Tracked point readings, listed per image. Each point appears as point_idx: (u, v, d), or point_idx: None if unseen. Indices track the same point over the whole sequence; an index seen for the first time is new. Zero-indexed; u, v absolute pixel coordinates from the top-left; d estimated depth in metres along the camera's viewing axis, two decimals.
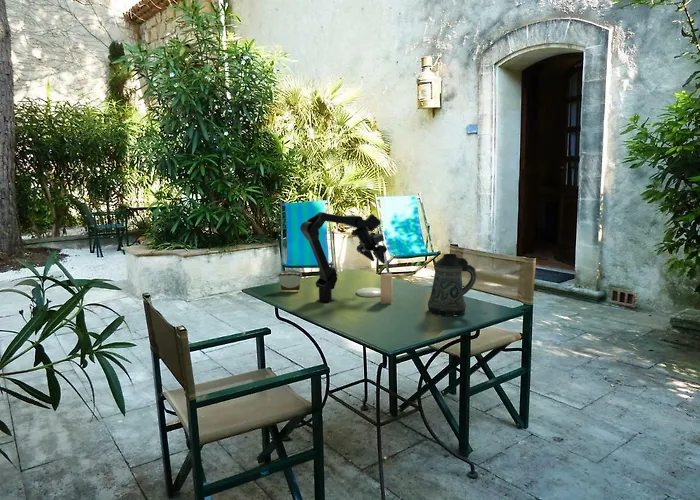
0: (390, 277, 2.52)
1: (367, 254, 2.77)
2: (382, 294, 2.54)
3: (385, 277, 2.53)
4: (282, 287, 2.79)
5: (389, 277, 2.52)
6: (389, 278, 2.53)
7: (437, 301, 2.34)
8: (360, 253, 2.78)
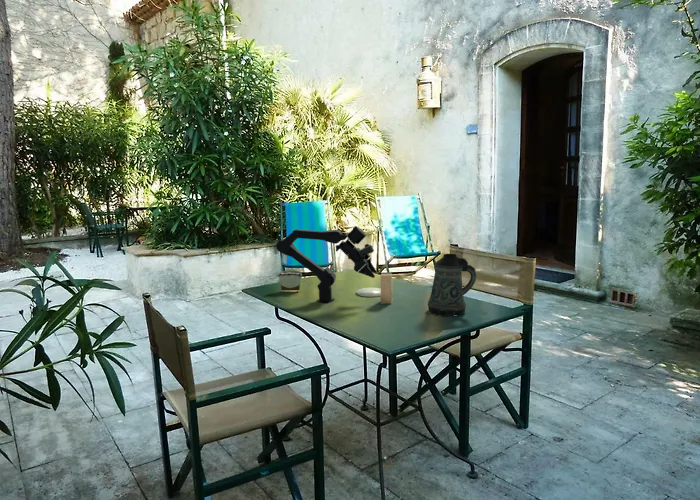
0: (390, 277, 2.52)
1: None
2: (382, 294, 2.54)
3: (385, 277, 2.53)
4: (282, 287, 2.79)
5: (389, 277, 2.52)
6: (389, 278, 2.53)
7: (437, 301, 2.34)
8: None
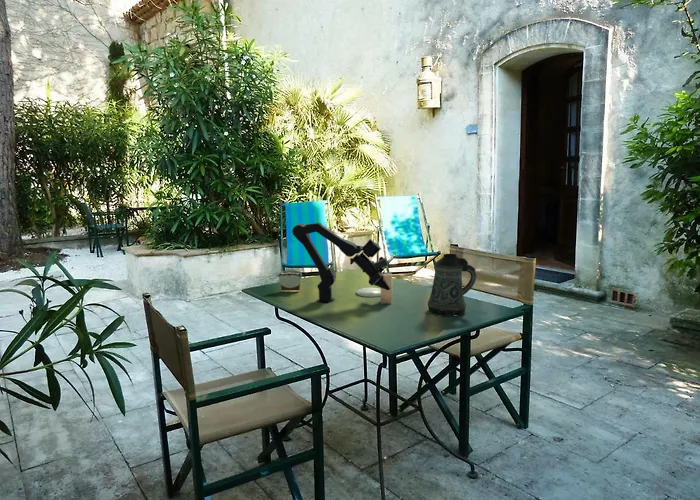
0: (390, 277, 2.53)
1: None
2: (382, 294, 2.54)
3: (385, 277, 2.53)
4: (282, 287, 2.79)
5: (389, 277, 2.53)
6: (389, 278, 2.53)
7: (437, 301, 2.34)
8: None
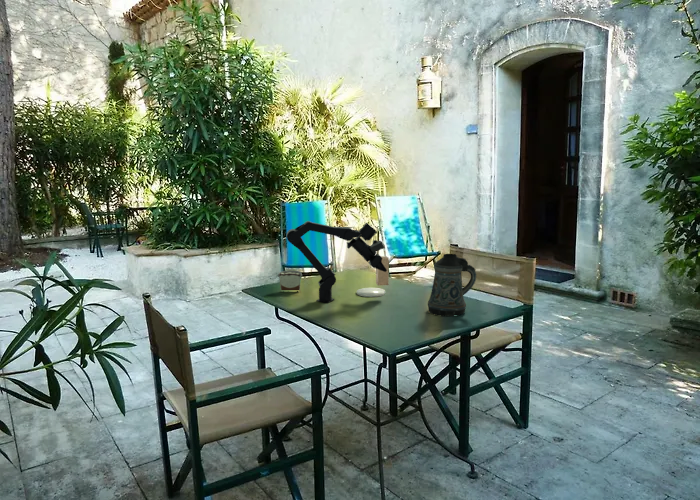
0: (387, 259, 2.60)
1: None
2: (379, 276, 2.61)
3: (382, 259, 2.60)
4: (282, 287, 2.79)
5: (386, 259, 2.60)
6: (386, 260, 2.60)
7: (437, 301, 2.34)
8: None
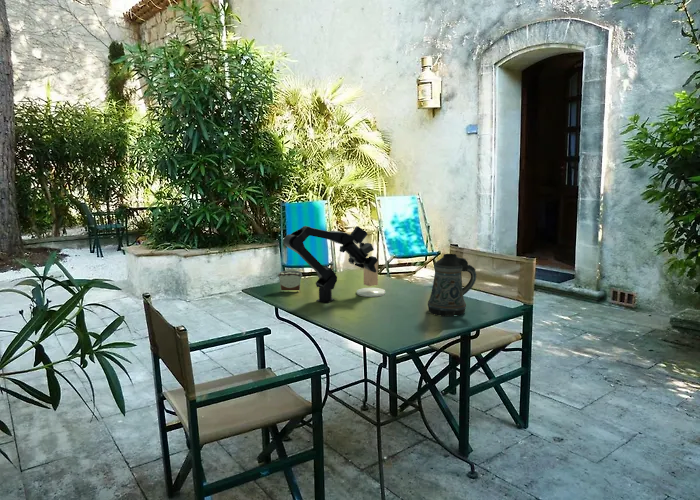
0: None
1: (362, 265, 2.73)
2: (370, 277, 2.70)
3: None
4: (282, 287, 2.79)
5: None
6: None
7: (437, 301, 2.34)
8: (355, 265, 2.74)
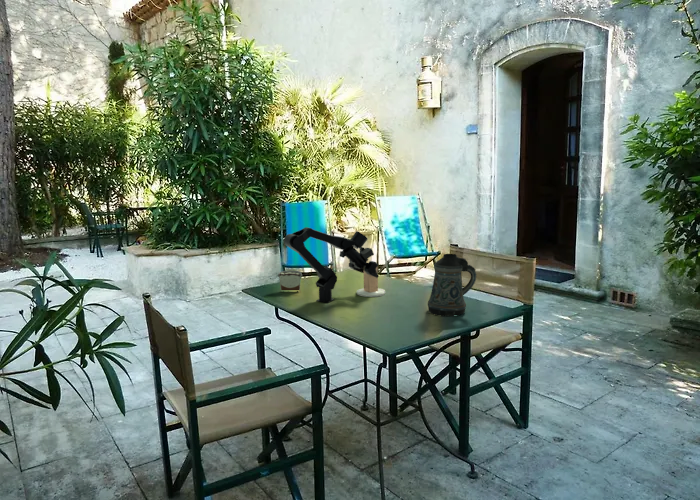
0: None
1: (360, 270, 2.75)
2: (370, 283, 2.70)
3: None
4: (282, 287, 2.79)
5: None
6: None
7: (437, 301, 2.34)
8: (353, 269, 2.75)
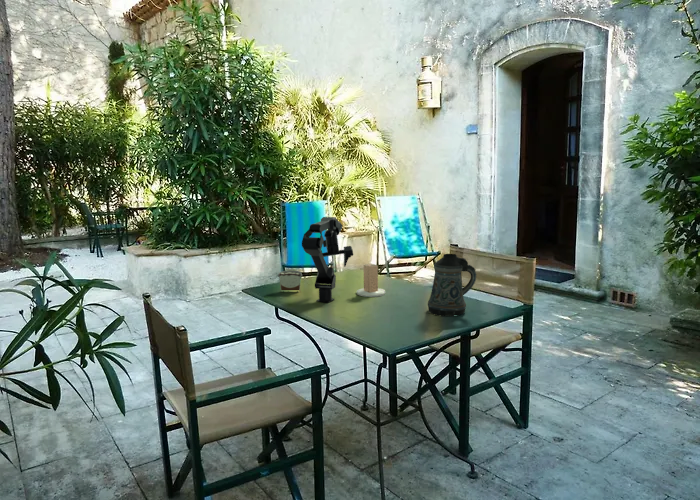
0: (376, 266, 2.71)
1: None
2: (370, 283, 2.70)
3: (373, 267, 2.70)
4: (282, 287, 2.79)
5: (376, 267, 2.71)
6: (376, 267, 2.71)
7: (437, 301, 2.34)
8: None
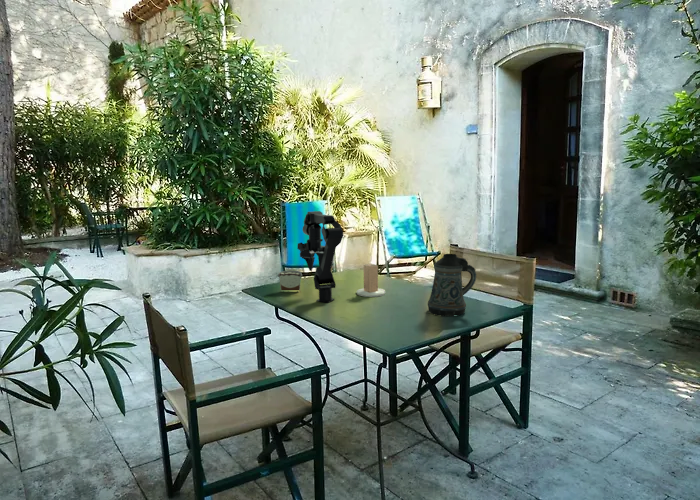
0: (376, 266, 2.71)
1: None
2: (370, 283, 2.70)
3: (373, 267, 2.70)
4: (282, 287, 2.79)
5: (376, 267, 2.71)
6: (376, 267, 2.71)
7: (437, 301, 2.34)
8: (312, 258, 2.62)
